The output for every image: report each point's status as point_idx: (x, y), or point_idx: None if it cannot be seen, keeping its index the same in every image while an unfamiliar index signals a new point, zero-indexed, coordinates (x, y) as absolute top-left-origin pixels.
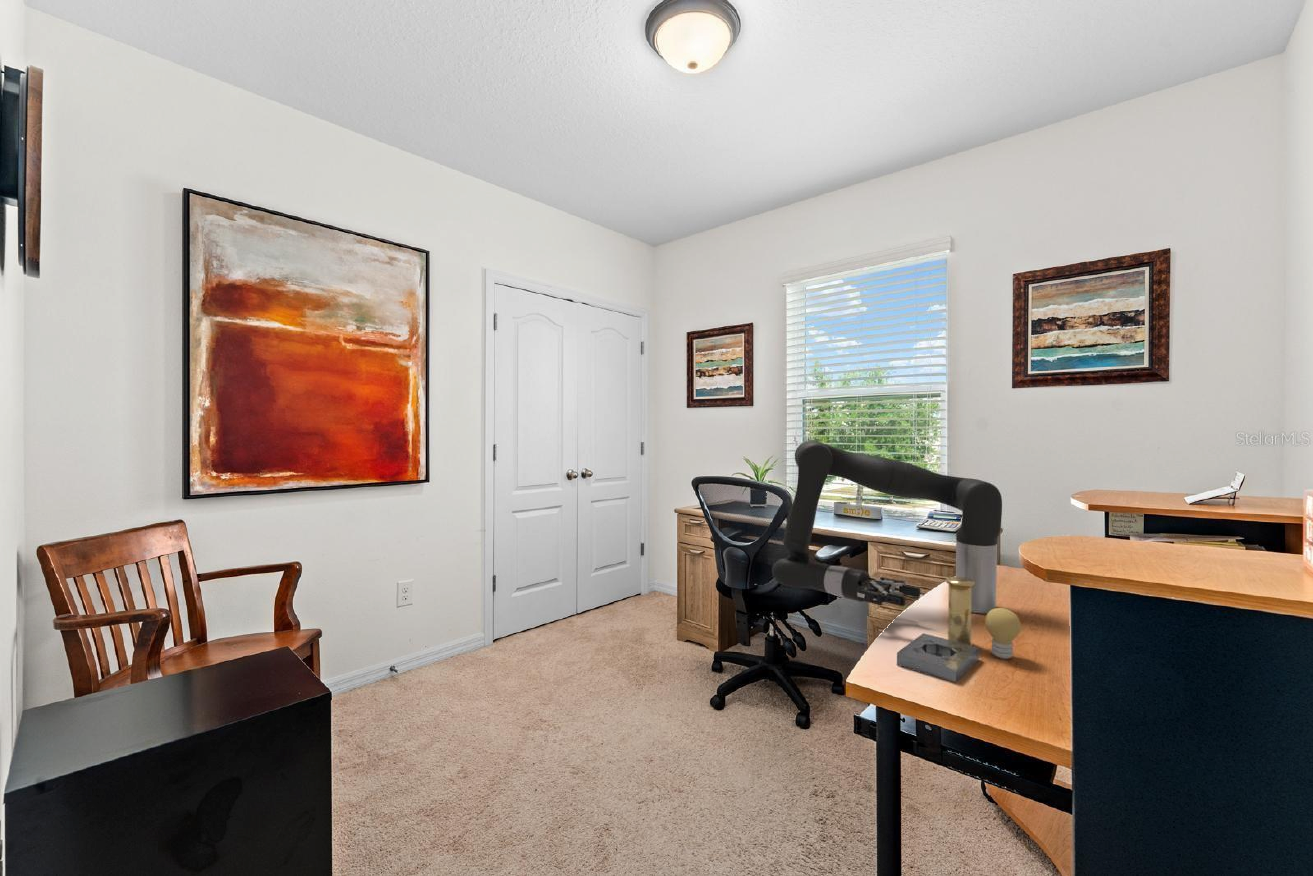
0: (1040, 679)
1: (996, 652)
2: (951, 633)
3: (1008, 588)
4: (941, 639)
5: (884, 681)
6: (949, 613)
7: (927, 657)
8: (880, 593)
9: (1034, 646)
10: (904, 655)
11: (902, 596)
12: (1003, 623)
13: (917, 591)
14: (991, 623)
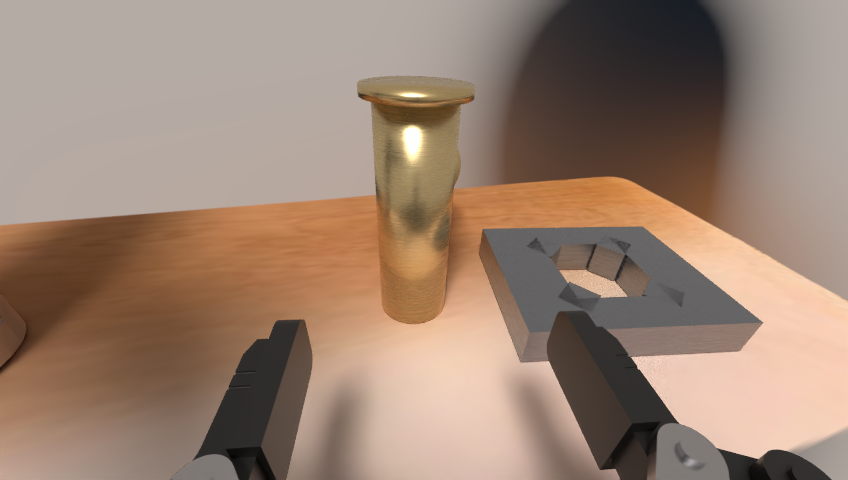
0: (468, 198)
1: None
2: (445, 281)
3: None
4: (521, 282)
5: (839, 331)
6: (442, 231)
7: (668, 268)
8: (777, 476)
9: (310, 219)
10: (738, 306)
11: (582, 317)
12: None
13: (304, 340)
14: (459, 164)
